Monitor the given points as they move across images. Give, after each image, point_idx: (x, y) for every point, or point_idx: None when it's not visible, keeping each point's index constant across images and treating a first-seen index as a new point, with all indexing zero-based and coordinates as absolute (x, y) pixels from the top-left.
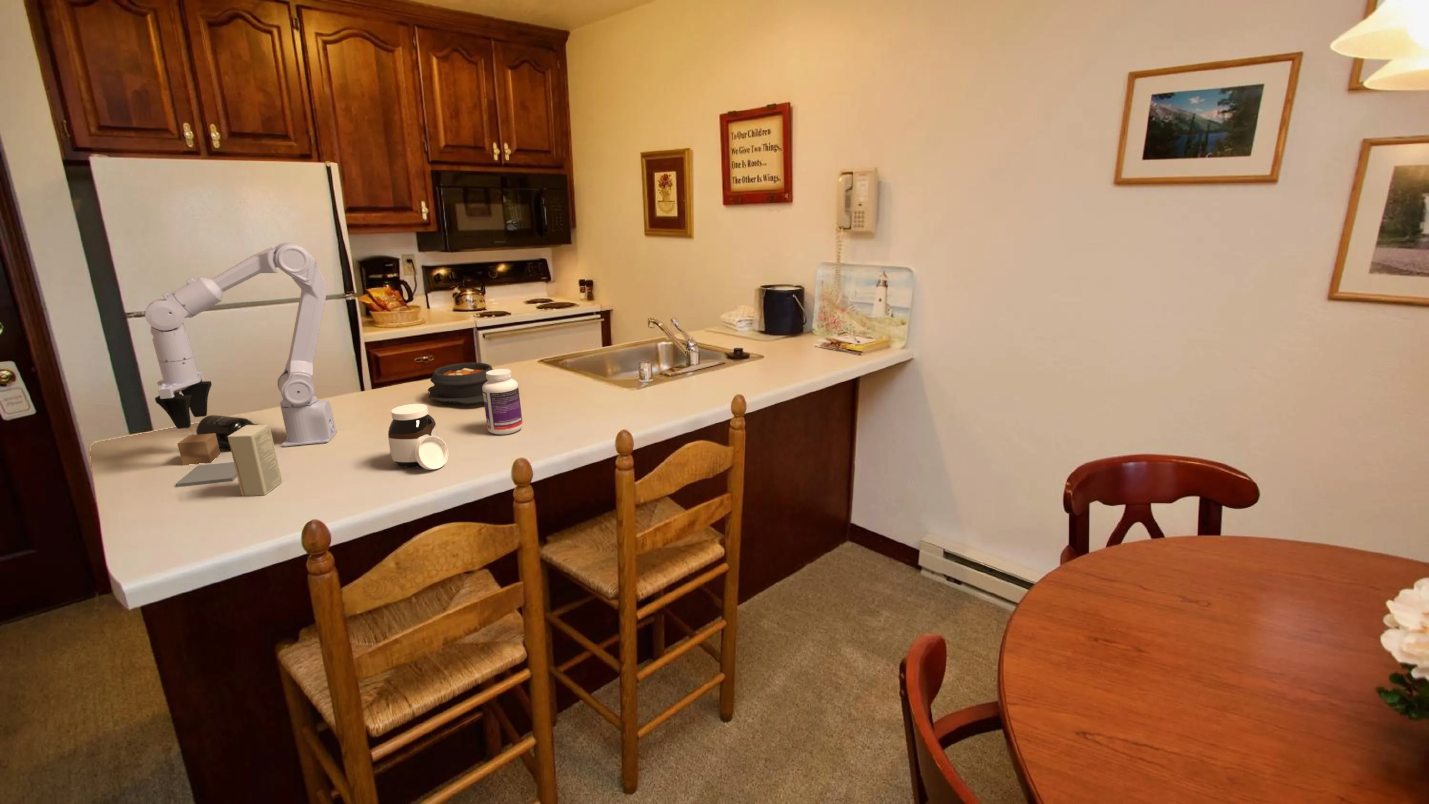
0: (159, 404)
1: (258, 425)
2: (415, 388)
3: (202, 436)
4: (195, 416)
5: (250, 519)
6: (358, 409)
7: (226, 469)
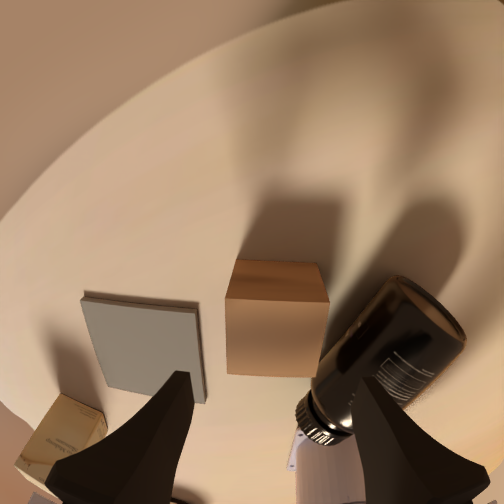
0: (69, 458)
1: None
2: (493, 453)
3: (292, 352)
4: (360, 383)
5: (20, 395)
6: (460, 442)
7: (153, 375)
